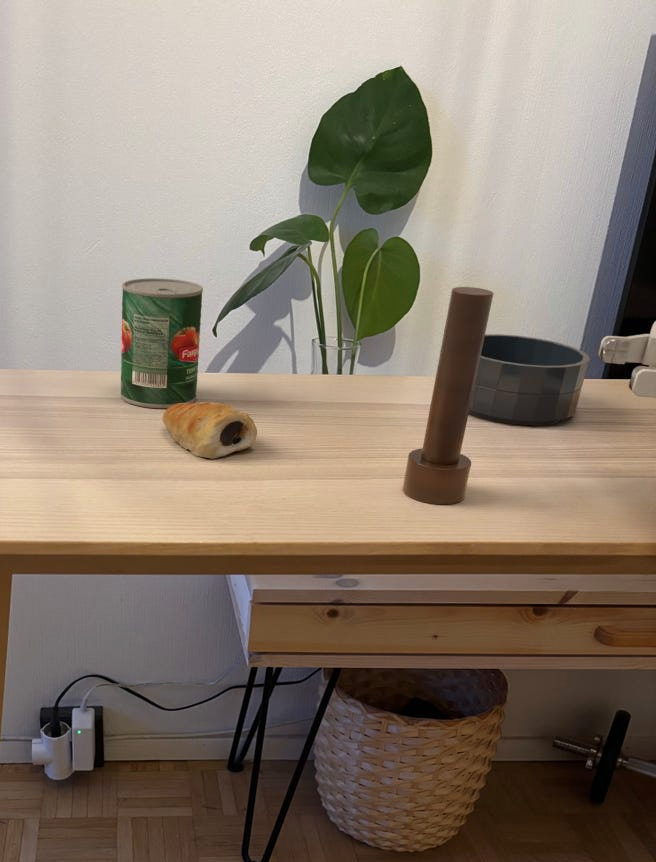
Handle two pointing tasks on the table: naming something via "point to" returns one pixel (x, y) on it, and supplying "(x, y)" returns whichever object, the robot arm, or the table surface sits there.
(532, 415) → the bowl
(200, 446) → the pastry
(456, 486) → the stirrer
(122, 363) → the canned tomato
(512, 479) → the table surface
